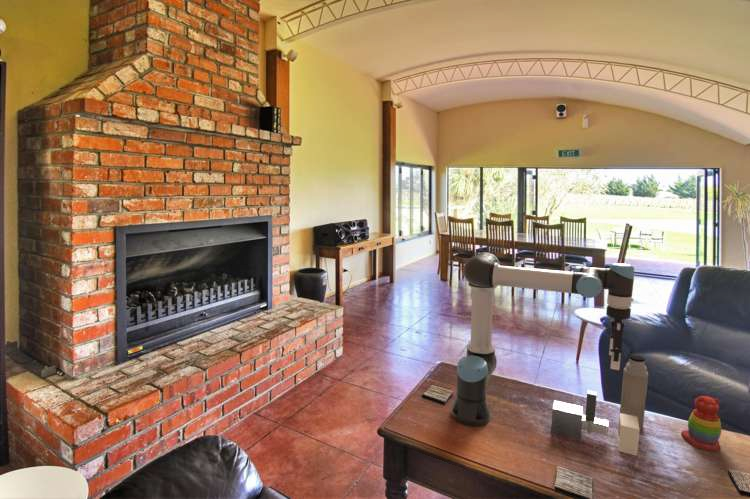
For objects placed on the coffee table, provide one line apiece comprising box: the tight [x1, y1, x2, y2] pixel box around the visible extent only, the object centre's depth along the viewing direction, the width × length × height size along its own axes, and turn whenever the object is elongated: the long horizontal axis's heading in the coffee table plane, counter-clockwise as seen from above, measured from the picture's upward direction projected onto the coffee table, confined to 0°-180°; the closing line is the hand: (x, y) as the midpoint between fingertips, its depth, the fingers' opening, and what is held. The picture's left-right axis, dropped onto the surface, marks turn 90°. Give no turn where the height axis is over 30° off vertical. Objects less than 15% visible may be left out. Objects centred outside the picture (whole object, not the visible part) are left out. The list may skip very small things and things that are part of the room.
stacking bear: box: [680, 395, 722, 452], centre depth 149 cm, size 11×10×18 cm
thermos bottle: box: [619, 354, 649, 432], centre depth 159 cm, size 8×8×28 cm
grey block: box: [550, 399, 584, 441], centre depth 156 cm, size 10×7×10 cm
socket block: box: [616, 412, 641, 456], centre depth 147 cm, size 6×9×10 cm, turn 152°
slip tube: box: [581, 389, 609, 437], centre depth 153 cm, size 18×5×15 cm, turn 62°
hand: (613, 362), depth 153 cm, fingers open, 13 cm apart
